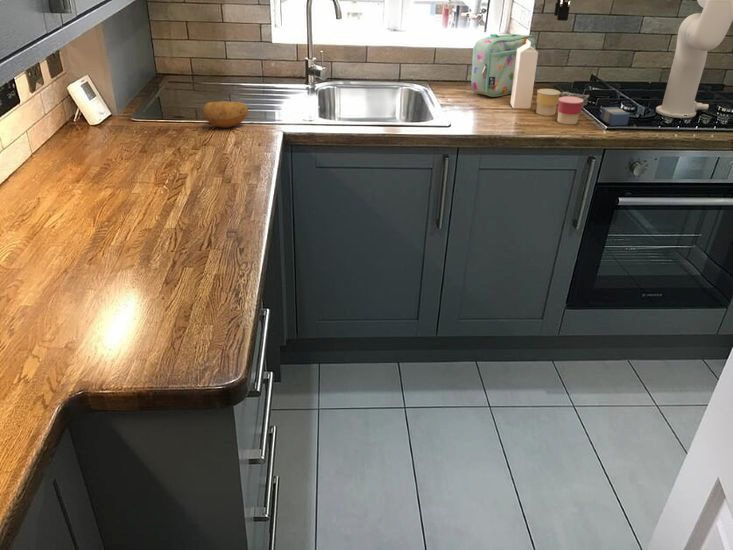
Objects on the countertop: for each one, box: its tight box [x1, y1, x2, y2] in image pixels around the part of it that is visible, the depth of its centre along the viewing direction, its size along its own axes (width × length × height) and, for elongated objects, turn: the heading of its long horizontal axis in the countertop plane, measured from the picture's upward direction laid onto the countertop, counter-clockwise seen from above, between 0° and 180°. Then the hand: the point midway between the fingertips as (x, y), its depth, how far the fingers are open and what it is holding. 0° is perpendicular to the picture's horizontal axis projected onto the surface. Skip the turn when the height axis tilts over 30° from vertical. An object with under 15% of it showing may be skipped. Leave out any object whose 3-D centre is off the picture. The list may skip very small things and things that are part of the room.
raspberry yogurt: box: [556, 96, 583, 125], centre depth 198 cm, size 8×8×7 cm
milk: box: [509, 39, 539, 109], centre depth 210 cm, size 6×6×22 cm
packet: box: [599, 106, 630, 127], centre depth 199 cm, size 6×8×4 cm
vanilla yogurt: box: [535, 88, 561, 117], centre depth 207 cm, size 8×8×7 cm
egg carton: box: [556, 91, 590, 109], centre depth 216 cm, size 11×8×4 cm
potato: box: [202, 100, 249, 129], centre depth 192 cm, size 10×14×8 cm
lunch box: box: [470, 33, 537, 98], centre depth 225 cm, size 27×10×21 cm, turn 127°
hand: (560, 18), depth 197 cm, fingers open, 9 cm apart
